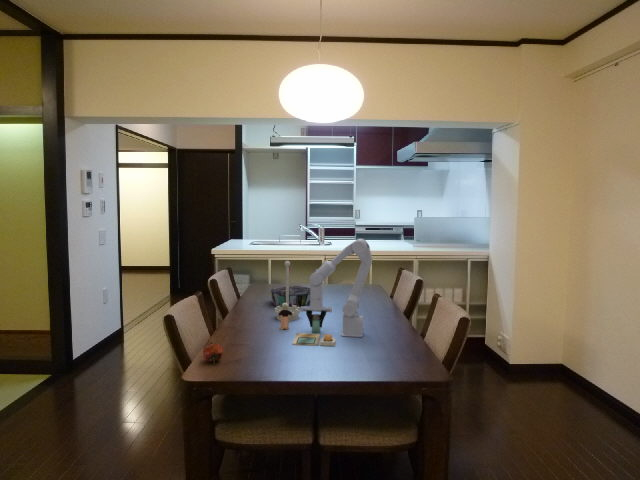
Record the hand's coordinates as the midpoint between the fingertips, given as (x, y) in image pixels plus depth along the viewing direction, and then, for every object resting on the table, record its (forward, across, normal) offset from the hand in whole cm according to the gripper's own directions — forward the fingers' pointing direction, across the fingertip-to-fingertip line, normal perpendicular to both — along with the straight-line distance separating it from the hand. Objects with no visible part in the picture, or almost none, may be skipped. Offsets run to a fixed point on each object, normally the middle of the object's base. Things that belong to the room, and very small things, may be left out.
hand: (316, 326), depth 201 cm
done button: (+1, -6, +16) cm, 17 cm away
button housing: (+2, -6, +16) cm, 17 cm away
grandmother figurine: (+3, +15, -3) cm, 16 cm away
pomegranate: (+3, +36, +41) cm, 54 cm away
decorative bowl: (+3, +19, -53) cm, 56 cm away
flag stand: (+3, +17, -22) cm, 28 cm away
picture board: (+2, +3, +12) cm, 13 cm away
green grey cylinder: (+2, 0, 0) cm, 2 cm away
